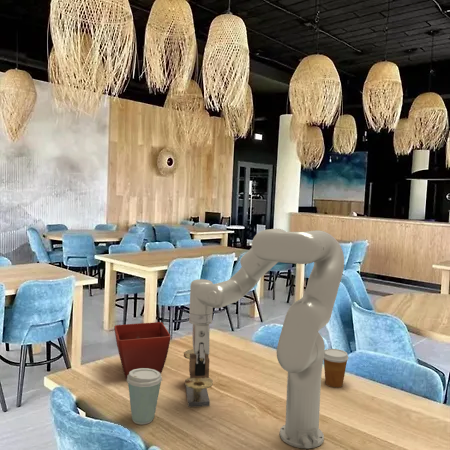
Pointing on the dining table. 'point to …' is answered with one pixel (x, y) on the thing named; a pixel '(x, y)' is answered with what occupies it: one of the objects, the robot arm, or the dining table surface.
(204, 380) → the balance
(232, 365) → the dining table surface
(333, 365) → the disposable coffee cup
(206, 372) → the walnut block
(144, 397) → the disposable coffee cup
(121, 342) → the plant pot
